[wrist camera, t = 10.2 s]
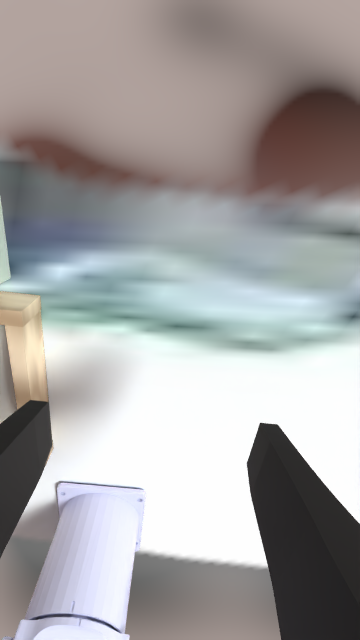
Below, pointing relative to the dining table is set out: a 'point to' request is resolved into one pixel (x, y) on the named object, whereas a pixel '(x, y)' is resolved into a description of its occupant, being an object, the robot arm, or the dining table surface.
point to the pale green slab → (3, 252)
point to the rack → (25, 346)
